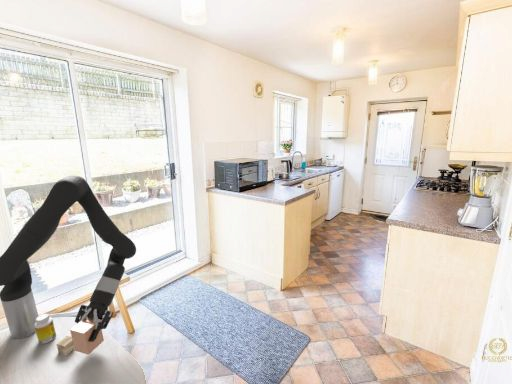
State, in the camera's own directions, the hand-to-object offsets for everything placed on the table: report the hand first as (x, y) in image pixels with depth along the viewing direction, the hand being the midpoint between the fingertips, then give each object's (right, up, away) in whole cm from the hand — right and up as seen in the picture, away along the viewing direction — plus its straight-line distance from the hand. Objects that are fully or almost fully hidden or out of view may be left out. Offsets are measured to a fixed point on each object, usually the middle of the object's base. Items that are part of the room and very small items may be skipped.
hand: (83, 339), depth 91 cm
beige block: (-10, -7, +6) cm, 14 cm away
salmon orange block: (+1, -4, +3) cm, 5 cm away
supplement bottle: (-22, -7, +11) cm, 25 cm away
